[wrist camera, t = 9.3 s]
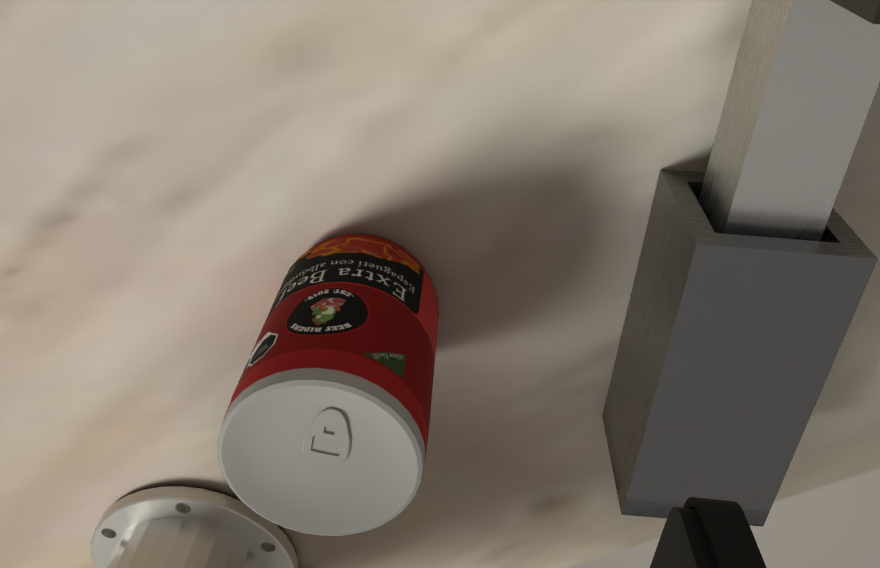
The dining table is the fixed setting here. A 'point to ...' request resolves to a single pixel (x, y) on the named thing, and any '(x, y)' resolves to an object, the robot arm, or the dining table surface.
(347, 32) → the dining table surface
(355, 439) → the canned food
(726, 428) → the sleeve
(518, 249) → the dining table surface
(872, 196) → the dining table surface
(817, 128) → the steel bar
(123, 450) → the dining table surface
